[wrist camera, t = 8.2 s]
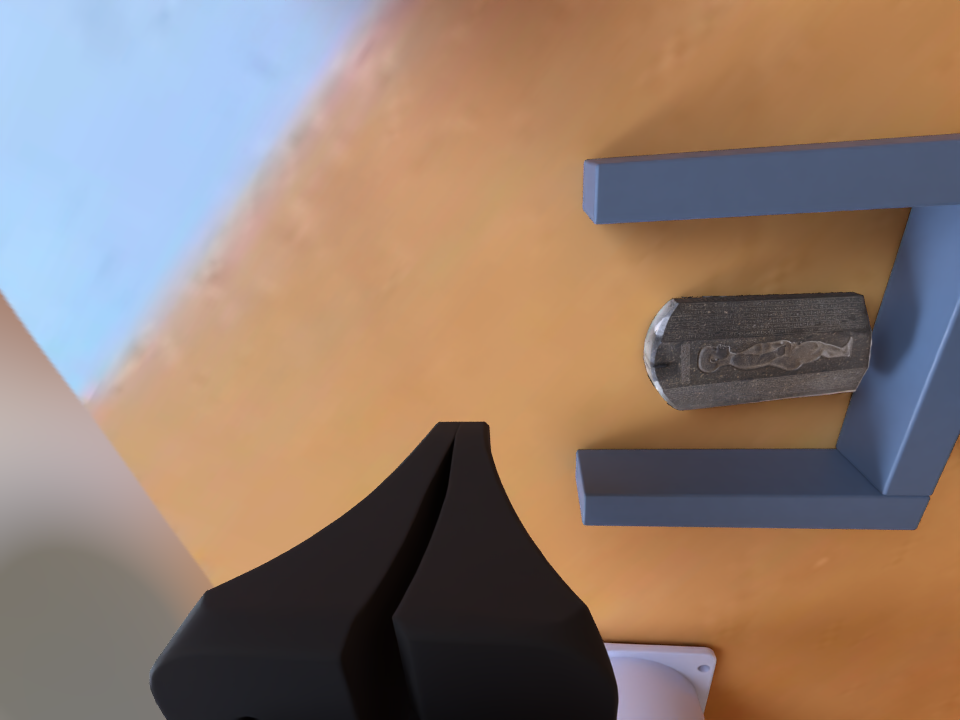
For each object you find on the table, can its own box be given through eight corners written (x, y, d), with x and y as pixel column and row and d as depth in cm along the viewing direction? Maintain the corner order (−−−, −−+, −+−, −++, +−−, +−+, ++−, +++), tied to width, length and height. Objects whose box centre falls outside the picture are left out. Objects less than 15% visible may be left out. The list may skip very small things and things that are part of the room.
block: (832, 374, 15) (869, 403, 14) (644, 398, 16) (657, 427, 15) (845, 268, 14) (889, 285, 12) (637, 301, 15) (651, 322, 13)
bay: (865, 478, 17) (917, 531, 15) (575, 477, 18) (582, 526, 16) (992, 130, 12) (1100, 129, 10) (583, 159, 13) (595, 163, 11)
